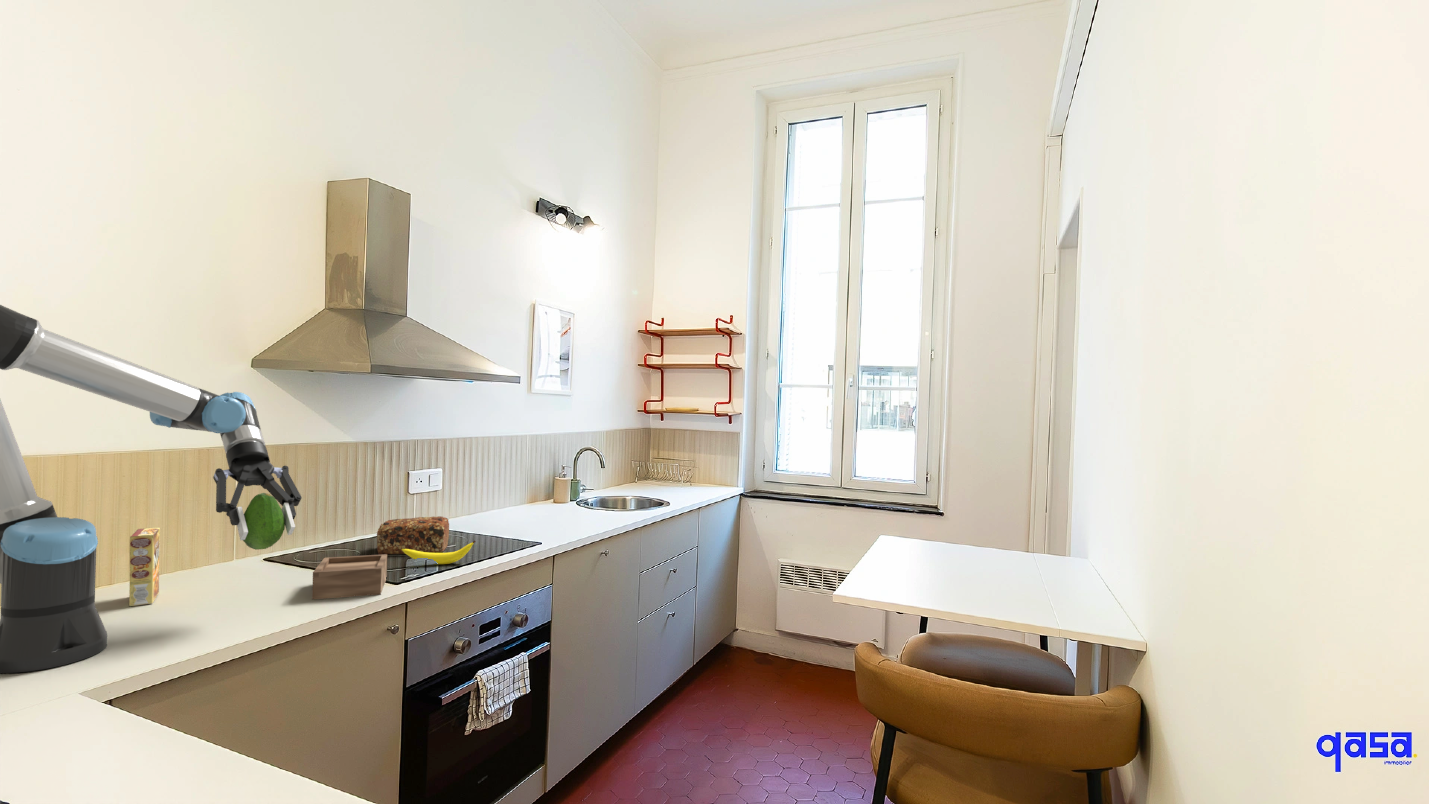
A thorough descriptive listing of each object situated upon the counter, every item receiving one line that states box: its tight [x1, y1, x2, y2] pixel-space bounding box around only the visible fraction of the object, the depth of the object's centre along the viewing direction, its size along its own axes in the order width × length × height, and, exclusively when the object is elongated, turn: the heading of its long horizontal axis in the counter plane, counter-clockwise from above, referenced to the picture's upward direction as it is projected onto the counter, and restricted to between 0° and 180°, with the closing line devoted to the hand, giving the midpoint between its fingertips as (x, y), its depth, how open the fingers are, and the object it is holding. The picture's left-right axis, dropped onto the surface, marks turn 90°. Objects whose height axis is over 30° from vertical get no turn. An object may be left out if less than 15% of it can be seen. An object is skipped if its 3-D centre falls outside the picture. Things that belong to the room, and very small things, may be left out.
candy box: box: [128, 527, 161, 607], centre depth 146 cm, size 9×4×15 cm, turn 33°
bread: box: [376, 516, 450, 555], centre depth 198 cm, size 19×11×10 cm, turn 102°
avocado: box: [242, 492, 286, 550], centre depth 139 cm, size 8×8×12 cm
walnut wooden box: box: [311, 554, 388, 600], centre depth 159 cm, size 14×14×6 cm
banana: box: [401, 540, 476, 565], centre depth 182 cm, size 3×19×6 cm, turn 111°
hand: (268, 533), depth 137 cm, fingers closed on avocado, 8 cm apart
